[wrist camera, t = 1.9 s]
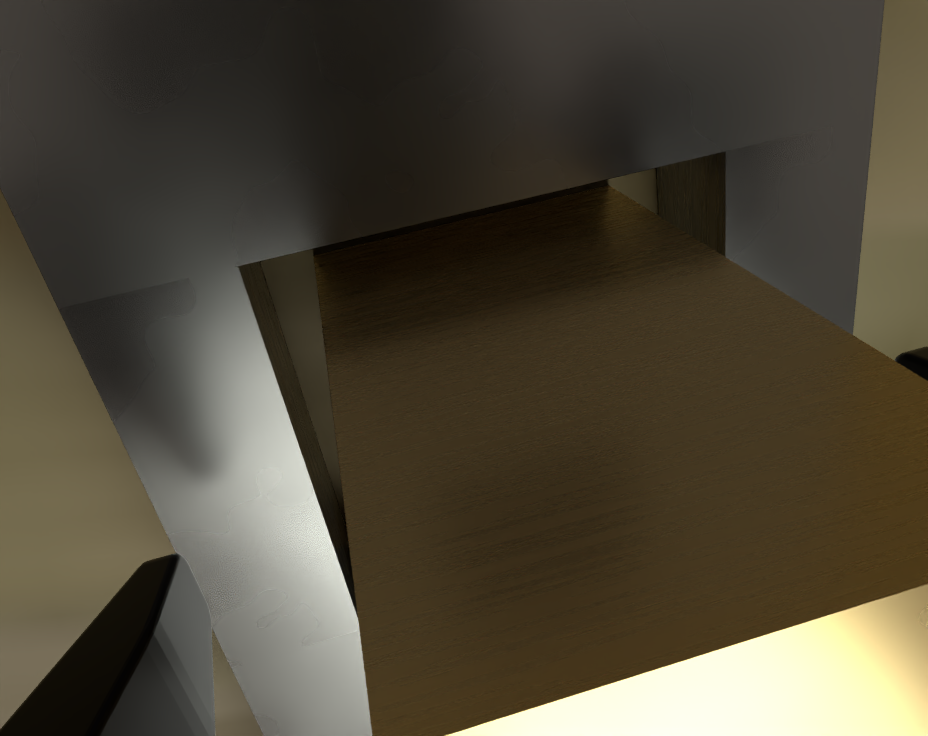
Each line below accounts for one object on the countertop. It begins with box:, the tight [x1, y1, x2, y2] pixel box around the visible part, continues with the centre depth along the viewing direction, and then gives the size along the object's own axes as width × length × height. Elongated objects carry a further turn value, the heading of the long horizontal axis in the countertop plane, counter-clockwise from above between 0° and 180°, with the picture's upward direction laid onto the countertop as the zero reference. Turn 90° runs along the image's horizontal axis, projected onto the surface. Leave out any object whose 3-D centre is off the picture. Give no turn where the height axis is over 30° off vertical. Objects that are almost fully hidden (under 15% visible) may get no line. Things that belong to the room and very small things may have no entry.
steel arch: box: [0, 0, 884, 736], centre depth 11 cm, size 10×20×2 cm, turn 10°
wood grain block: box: [314, 186, 928, 736], centre depth 9 cm, size 4×4×8 cm
